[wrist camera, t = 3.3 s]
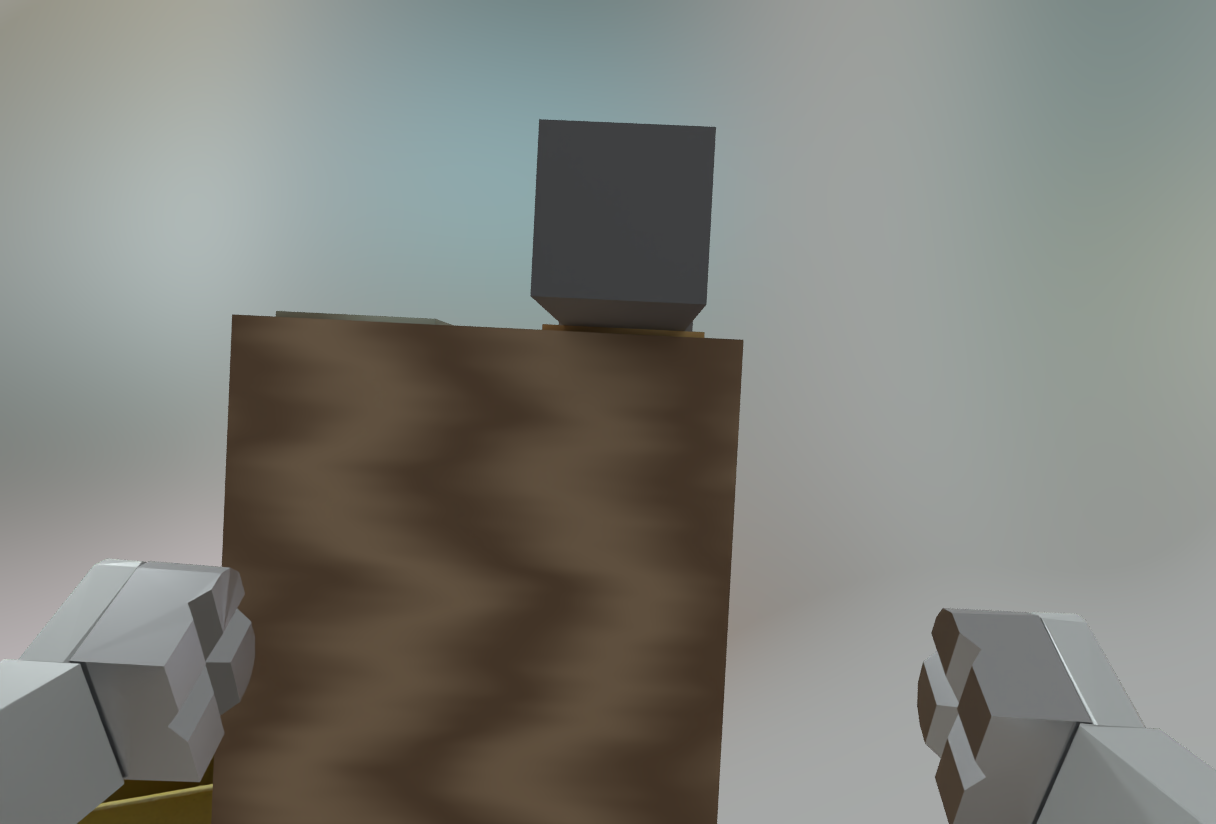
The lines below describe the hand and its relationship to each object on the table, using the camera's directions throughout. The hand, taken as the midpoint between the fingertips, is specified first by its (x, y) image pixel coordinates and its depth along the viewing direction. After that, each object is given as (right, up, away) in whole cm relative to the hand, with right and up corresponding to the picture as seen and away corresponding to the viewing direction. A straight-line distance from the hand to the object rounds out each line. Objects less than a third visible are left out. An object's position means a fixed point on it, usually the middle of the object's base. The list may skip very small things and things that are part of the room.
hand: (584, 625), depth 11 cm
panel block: (-4, -21, +23) cm, 31 cm away
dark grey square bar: (+1, +5, +17) cm, 18 cm away
